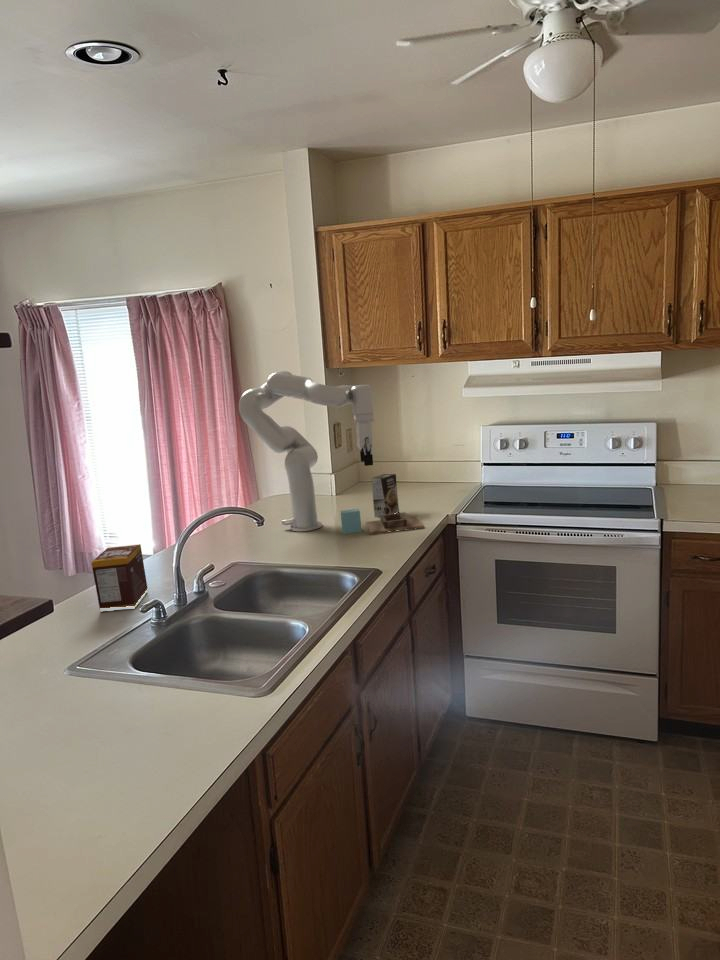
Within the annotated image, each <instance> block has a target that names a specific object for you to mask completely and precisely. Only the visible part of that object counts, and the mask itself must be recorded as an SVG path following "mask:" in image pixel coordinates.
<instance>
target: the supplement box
mask: <svg viewBox="0 0 720 960" xmlns="http://www.w3.org/2000/svg"><path fill="white" fill-rule="evenodd" d="M141 545H142V544H131V545H130V544H129V545H121V546H113V547H112V546H110V547H109V546H108V547H107V548H105V549H104V550H103V551H102V552H101V553H100V554H99V555H97V556H96V557H95V558H94V560H93V559H92V561H91V568H92V573H93V578H94V584H95V589H96V597H97V600H98V606H99V609H100V608H110V607H126V606H135V605H136V603H137V602H138V600H139V599H140V598H141V596H142V595H143V594H144V593H145V591H146V590H147V588H148V582H147V577H146V571H145V565H144V558H143V551H142V546H141Z"/></svg>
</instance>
